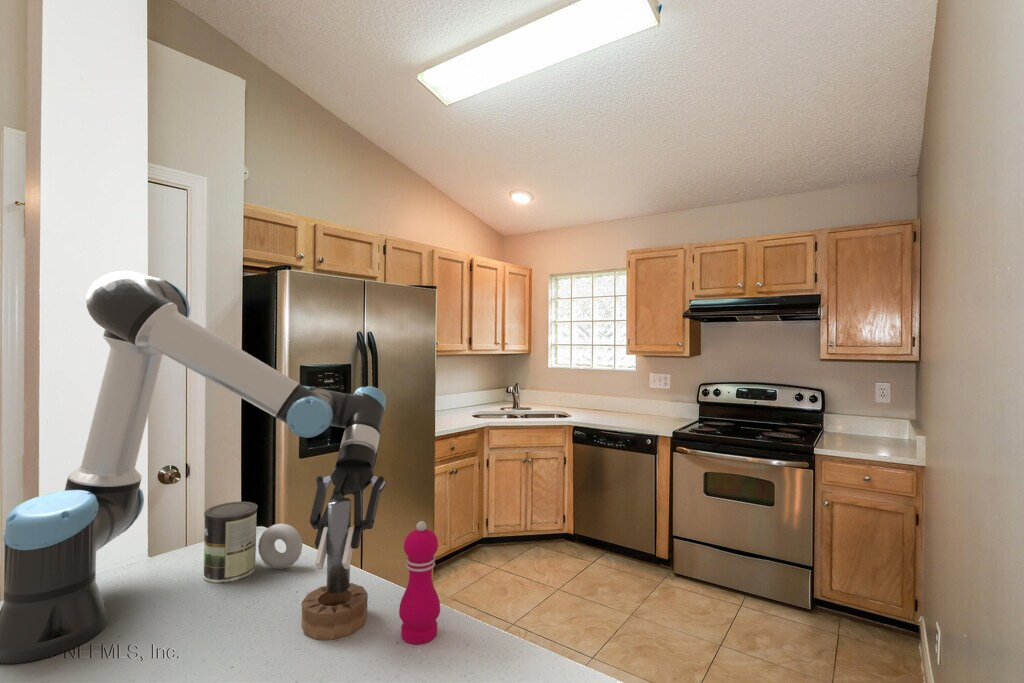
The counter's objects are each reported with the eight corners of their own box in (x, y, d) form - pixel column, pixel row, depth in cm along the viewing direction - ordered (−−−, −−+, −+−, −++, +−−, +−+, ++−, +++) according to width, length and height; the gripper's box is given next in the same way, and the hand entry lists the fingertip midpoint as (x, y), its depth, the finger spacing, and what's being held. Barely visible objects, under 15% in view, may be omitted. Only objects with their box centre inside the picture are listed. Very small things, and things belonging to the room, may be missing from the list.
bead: (292, 639, 86) (293, 613, 86) (315, 606, 97) (315, 583, 97) (357, 639, 87) (357, 613, 87) (372, 606, 98) (372, 583, 98)
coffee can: (196, 586, 104) (197, 518, 104) (210, 564, 114) (211, 503, 114) (251, 580, 107) (252, 514, 107) (260, 559, 117) (261, 499, 117)
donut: (304, 566, 114) (305, 522, 114) (296, 573, 111) (297, 528, 111) (263, 563, 115) (264, 520, 115) (254, 570, 112) (255, 525, 112)
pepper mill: (399, 649, 84) (401, 530, 84) (397, 625, 91) (399, 516, 91) (442, 643, 86) (444, 527, 86) (437, 620, 93) (439, 513, 93)
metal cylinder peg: (323, 593, 90) (324, 504, 90) (330, 582, 94) (331, 497, 94) (346, 593, 90) (347, 504, 90) (352, 582, 94) (353, 497, 94)
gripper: (401, 461, 108) (383, 573, 91) (321, 461, 107) (288, 574, 91) (396, 441, 103) (377, 557, 86) (312, 441, 102) (276, 557, 85)
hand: (332, 565), depth 88 cm, fingers closed on metal cylinder peg, 4 cm apart
